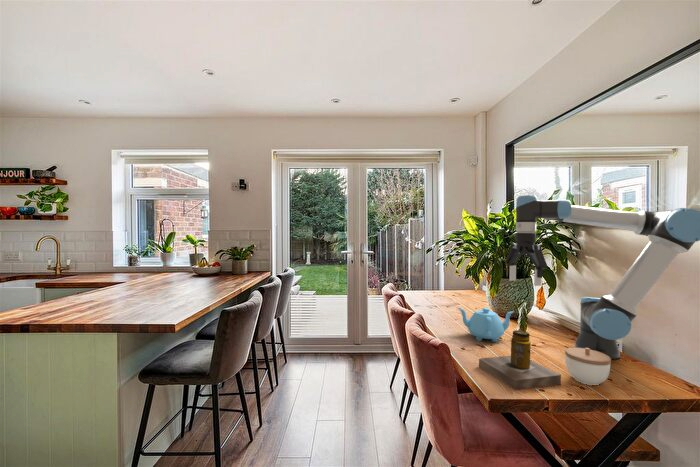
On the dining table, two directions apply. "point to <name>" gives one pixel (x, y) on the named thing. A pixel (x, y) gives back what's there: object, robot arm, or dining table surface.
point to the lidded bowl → (587, 365)
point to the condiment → (520, 352)
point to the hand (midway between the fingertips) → (524, 283)
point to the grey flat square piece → (519, 373)
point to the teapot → (486, 324)
